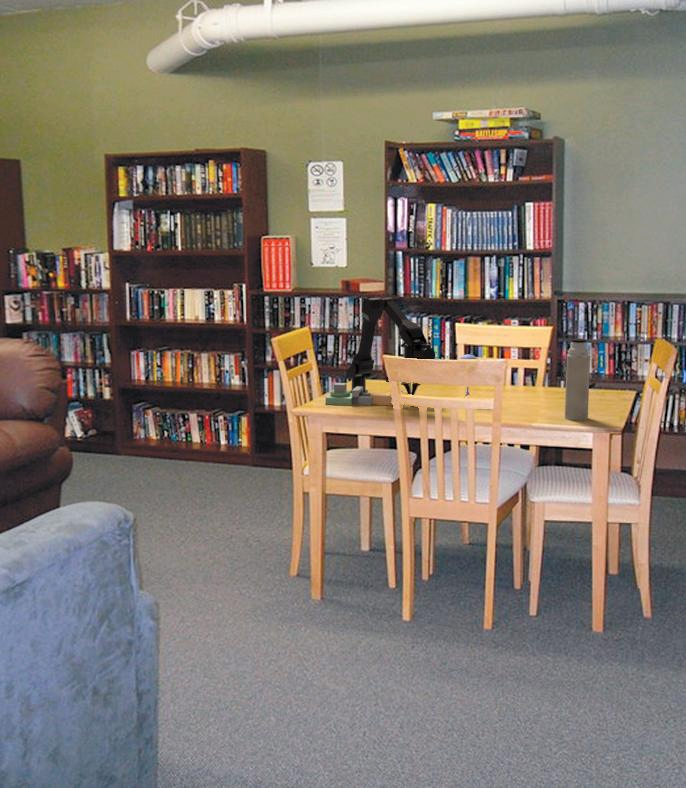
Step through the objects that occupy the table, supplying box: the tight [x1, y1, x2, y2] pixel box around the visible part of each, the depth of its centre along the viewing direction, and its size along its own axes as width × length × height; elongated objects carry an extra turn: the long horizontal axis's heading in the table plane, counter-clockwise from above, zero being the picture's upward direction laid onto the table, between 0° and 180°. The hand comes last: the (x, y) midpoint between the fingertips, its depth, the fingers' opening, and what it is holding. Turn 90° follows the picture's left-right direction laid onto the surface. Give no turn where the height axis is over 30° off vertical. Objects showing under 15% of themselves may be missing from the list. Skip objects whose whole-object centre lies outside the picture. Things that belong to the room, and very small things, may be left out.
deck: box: [325, 382, 373, 406], centre depth 408 cm, size 11×18×7 cm, turn 77°
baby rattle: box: [459, 354, 478, 397], centre depth 409 cm, size 9×9×18 cm
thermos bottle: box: [564, 338, 591, 421], centre depth 374 cm, size 8×8×28 cm
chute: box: [370, 389, 404, 406], centre depth 405 cm, size 6×12×5 cm, turn 77°
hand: (411, 400), depth 403 cm, fingers closed
